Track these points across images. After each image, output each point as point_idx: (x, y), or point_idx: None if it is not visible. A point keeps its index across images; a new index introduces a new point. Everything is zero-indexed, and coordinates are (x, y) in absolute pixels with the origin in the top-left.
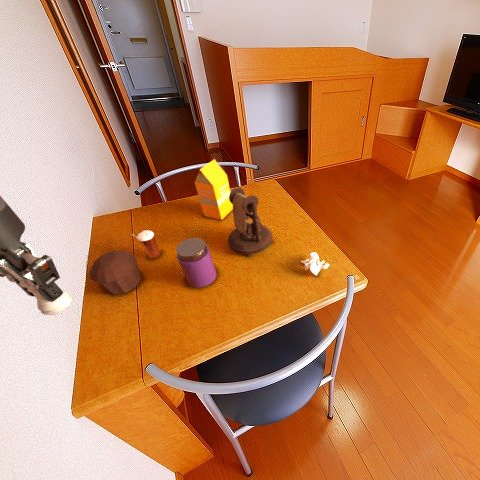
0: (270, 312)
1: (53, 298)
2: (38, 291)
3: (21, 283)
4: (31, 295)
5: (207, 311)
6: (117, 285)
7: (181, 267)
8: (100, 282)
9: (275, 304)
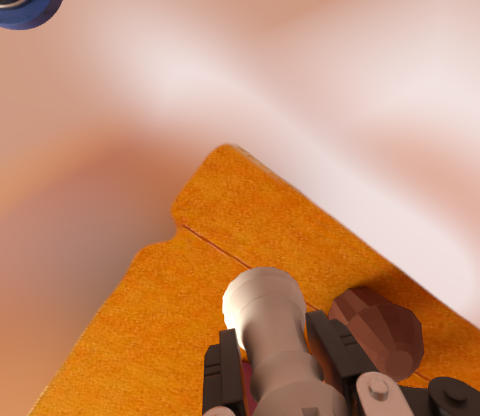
0: (67, 388)
1: (207, 353)
2: (232, 380)
3: (303, 403)
4: (308, 316)
5: (169, 340)
6: (345, 312)
7: (250, 406)
8: (369, 309)
9: (71, 403)
